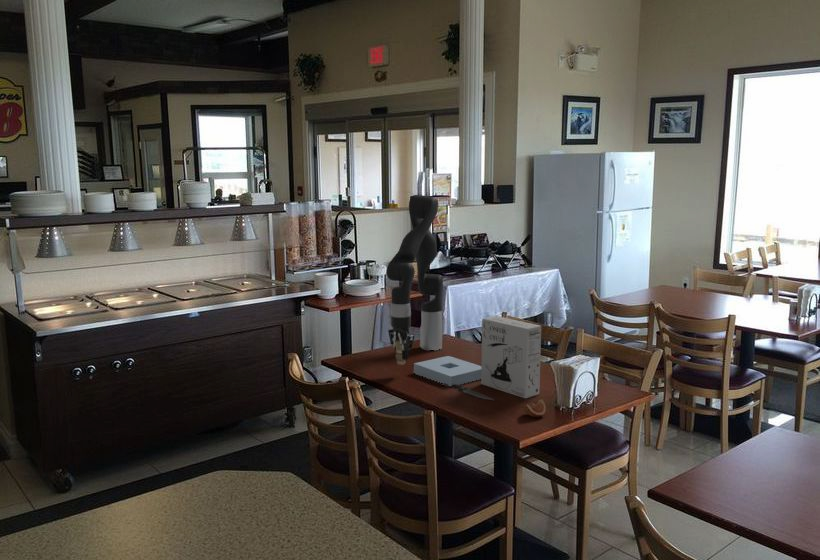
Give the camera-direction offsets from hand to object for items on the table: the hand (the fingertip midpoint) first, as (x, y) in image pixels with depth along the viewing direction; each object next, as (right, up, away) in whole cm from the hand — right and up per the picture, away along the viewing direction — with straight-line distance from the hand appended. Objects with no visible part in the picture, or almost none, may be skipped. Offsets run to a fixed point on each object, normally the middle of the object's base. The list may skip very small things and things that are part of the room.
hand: (401, 357), depth 267 cm
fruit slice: (+43, -14, -42) cm, 62 cm away
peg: (0, -2, 0) cm, 2 cm away
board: (+19, -7, +1) cm, 20 cm away
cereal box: (+39, -10, -15) cm, 43 cm away
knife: (+24, -11, -18) cm, 32 cm away
